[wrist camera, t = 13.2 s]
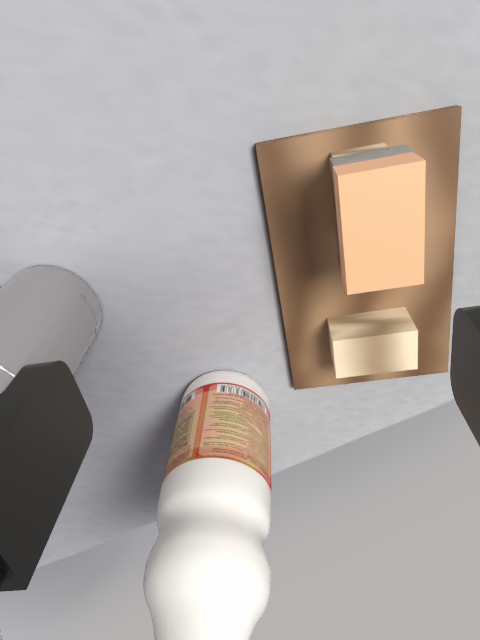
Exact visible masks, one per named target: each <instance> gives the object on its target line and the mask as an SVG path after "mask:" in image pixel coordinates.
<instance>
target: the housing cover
mask: <svg viewBox="0 0 480 640" xmlns="http://www.w3.org/2000/svg"><path fill="white" fill-rule="evenodd" d="M332 168H333V180H334V192H335V203H336V215H337V227H338V239H339V250H340V262H341V274H342V281H343V283H344V286H345V289H346V292H347V295H350V294H357V293H364V292H371V291H378V290H385V289H392V288H399V287H406V286H413V285H420V284H424V245H425V171H426V160H424V159H423V158H422V157H420V156H419V155H417V154H416V153H414V152H410V153H404V154H399V155H393V156H388V157H382V158H377V159H371V160H366V161H360V162H355V163H349V164H344V165H338V166H333V167H332Z"/></svg>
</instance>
